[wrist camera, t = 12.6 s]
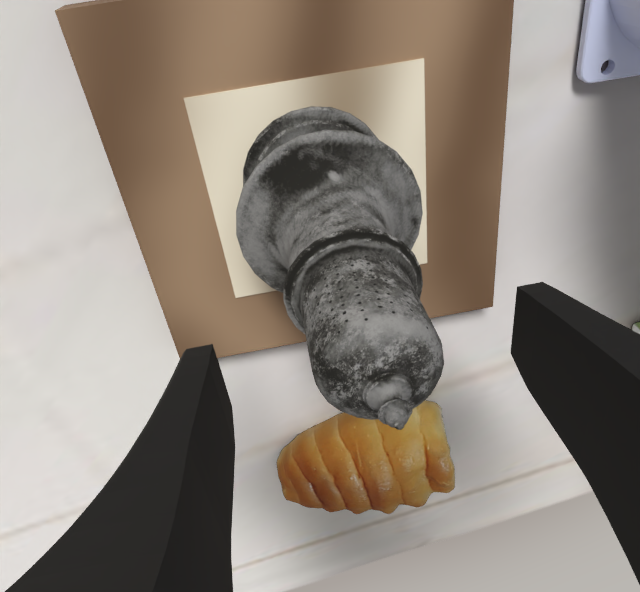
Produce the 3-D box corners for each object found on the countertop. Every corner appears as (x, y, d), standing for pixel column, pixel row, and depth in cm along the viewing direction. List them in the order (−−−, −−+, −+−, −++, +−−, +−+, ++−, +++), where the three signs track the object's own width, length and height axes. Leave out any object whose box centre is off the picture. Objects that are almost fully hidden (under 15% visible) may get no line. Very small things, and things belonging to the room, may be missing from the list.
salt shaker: (348, 269, 23) (441, 541, 13) (210, 219, 20) (194, 496, 11) (424, 139, 20) (617, 355, 10) (274, 66, 18) (334, 248, 8)
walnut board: (502, -64, 18) (519, -62, 17) (482, 291, 26) (493, 307, 25) (64, 5, 17) (53, 10, 16) (183, 347, 25) (182, 366, 24)
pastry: (294, 497, 33) (301, 558, 30) (259, 423, 29) (263, 484, 26) (447, 455, 33) (470, 512, 30) (432, 374, 29) (457, 429, 26)
